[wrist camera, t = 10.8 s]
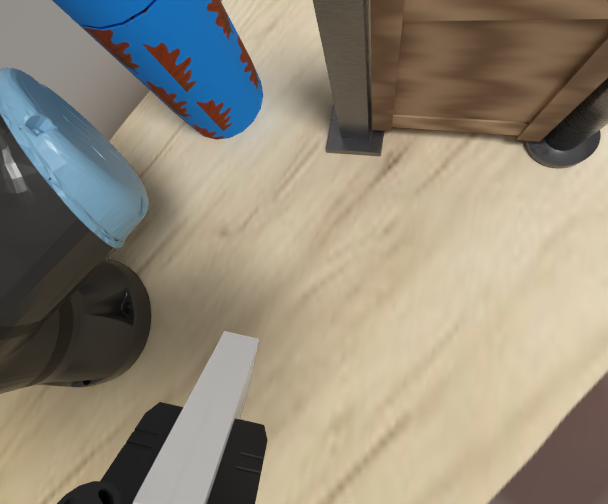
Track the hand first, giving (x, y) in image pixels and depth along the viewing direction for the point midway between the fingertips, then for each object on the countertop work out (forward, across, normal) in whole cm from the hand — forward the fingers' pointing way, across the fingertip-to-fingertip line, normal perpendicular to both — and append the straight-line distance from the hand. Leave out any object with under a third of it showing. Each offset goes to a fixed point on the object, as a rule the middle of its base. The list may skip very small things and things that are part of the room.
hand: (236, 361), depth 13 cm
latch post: (+28, +5, +11) cm, 30 cm away
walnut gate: (+24, +14, +14) cm, 31 cm away
